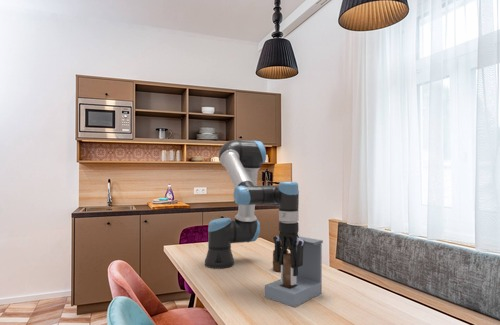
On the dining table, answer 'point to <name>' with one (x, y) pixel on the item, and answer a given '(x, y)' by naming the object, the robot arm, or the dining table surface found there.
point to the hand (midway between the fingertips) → (288, 282)
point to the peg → (287, 271)
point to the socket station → (301, 277)
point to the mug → (276, 263)
